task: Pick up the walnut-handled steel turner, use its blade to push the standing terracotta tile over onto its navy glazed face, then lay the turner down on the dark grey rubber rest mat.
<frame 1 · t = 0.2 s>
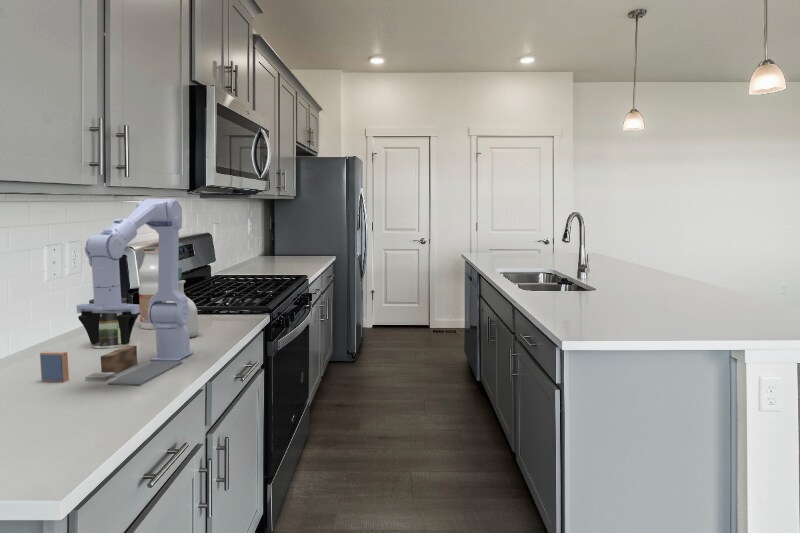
hand: (110, 343, 142), 10 cm above the worktop, tool pointing down, fingers open, 7 cm apart
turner: (120, 369, 156), on the worktop
rest mat: (147, 373, 153), on the worktop
coffee can: (110, 345, 186), on the worktop
tile: (55, 380, 147), on the worktop
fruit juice: (155, 327, 213), on the worktop
soap bottle: (180, 337, 196), on the worktop
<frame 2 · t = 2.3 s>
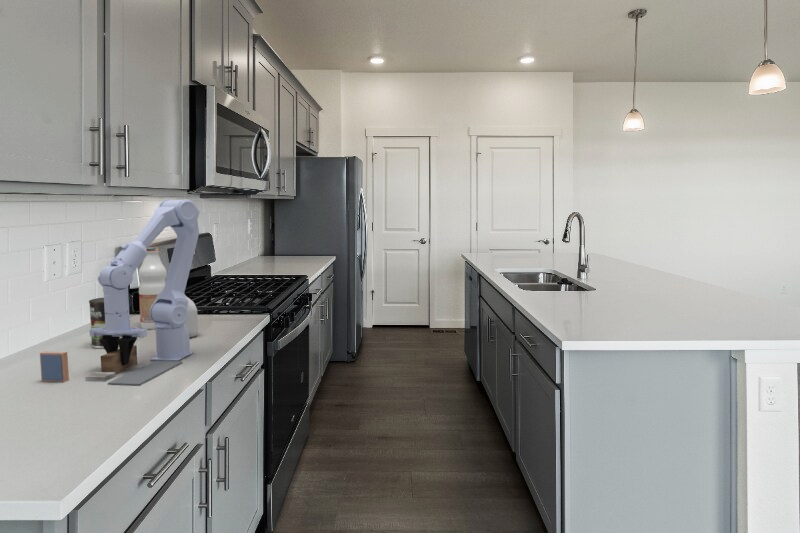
hand: (119, 364, 156), 1 cm above the worktop, tool pointing down, fingers closed on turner, 2 cm apart
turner: (120, 369, 156), on the worktop, touching gripper
everything else where it was.
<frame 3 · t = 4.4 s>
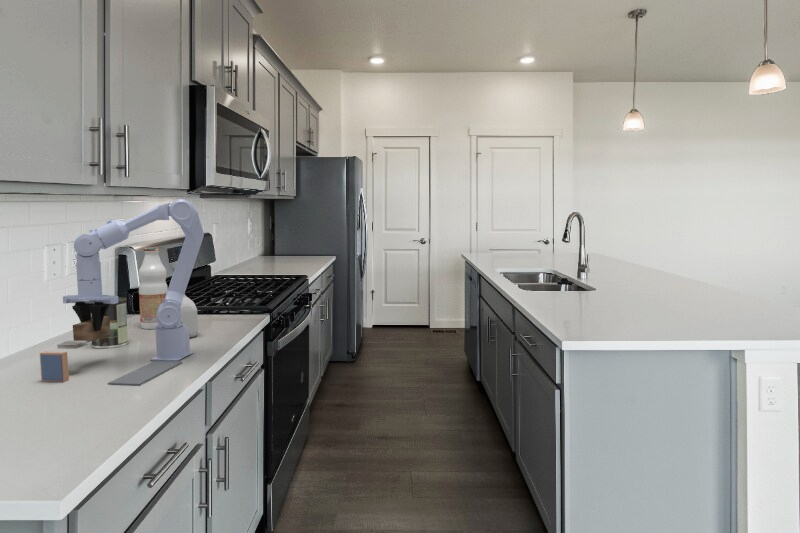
hand: (92, 330, 161), 9 cm above the worktop, tool pointing down, fingers closed on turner, 2 cm apart
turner: (92, 338, 161), point 7 cm above the worktop, touching gripper
everything else where it was.
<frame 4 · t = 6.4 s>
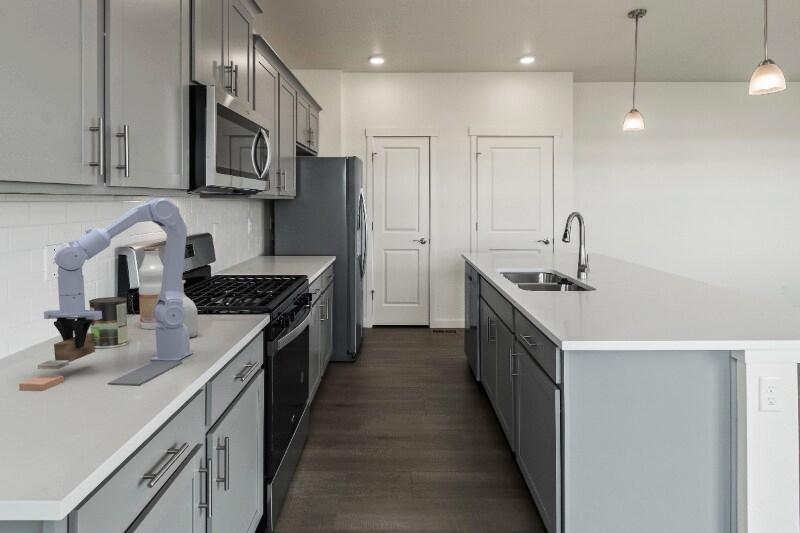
hand: (74, 347, 154), 6 cm above the worktop, tool pointing down, fingers closed on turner, 2 cm apart
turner: (76, 357, 154), point 4 cm above the worktop, touching gripper
tile: (52, 379, 146), point 1 cm above the worktop, tilted 90°
everything else where it was.
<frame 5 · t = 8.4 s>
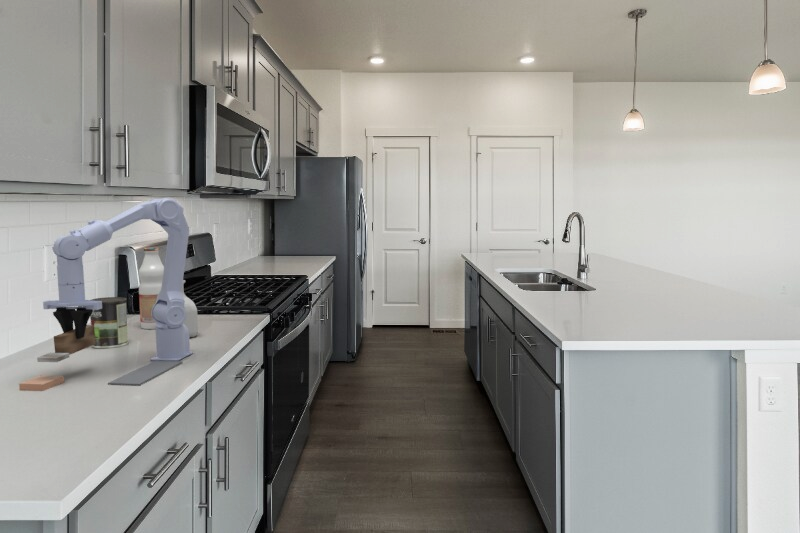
hand: (74, 337, 152), 9 cm above the worktop, tool pointing down, fingers closed on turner, 2 cm apart
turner: (76, 350, 152), point 6 cm above the worktop, touching gripper
everything else where it was.
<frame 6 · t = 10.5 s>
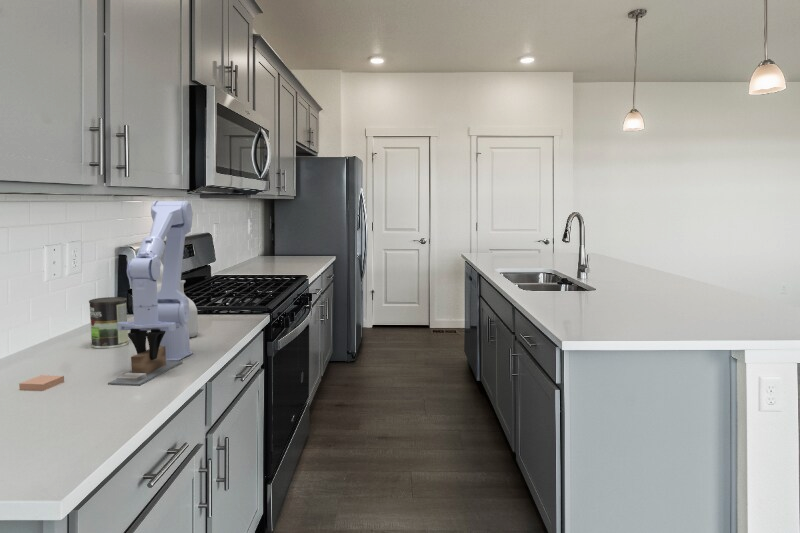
hand: (148, 358, 153), 4 cm above the worktop, tool pointing down, fingers closed on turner, 2 cm apart
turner: (149, 370, 154), resting on rest mat, touching gripper
everything else where it was.
when the fingers open (3 cm above the worktop, at t = 10.9 s): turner stays where it is, resting on rest mat.
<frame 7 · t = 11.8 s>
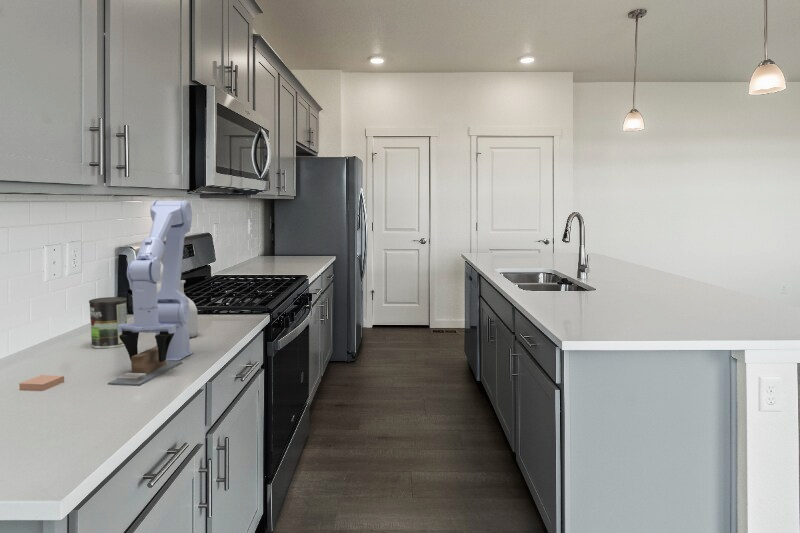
hand: (148, 360, 153), 3 cm above the worktop, tool pointing down, fingers open, 7 cm apart
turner: (149, 370, 154), resting on rest mat
everything else where it was.
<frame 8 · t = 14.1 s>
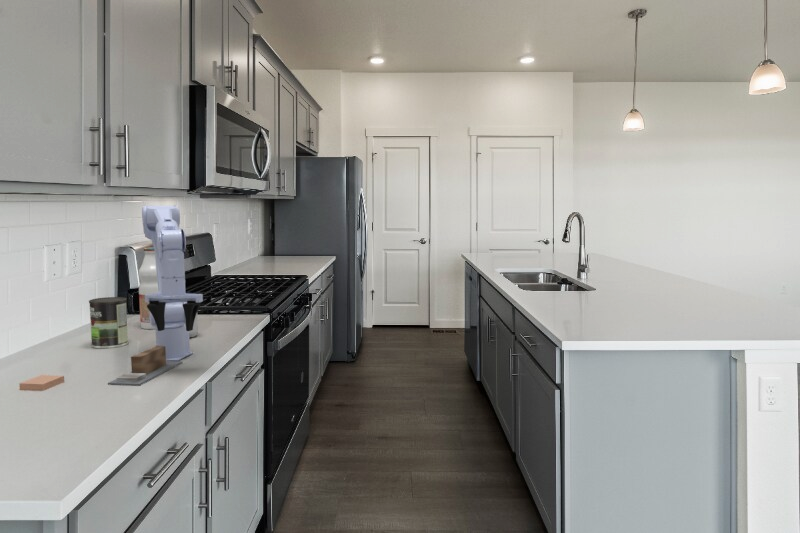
hand: (175, 330, 154), 10 cm above the worktop, tool pointing down, fingers open, 7 cm apart
nothing on the worktop moved.
at the end: tile tilted 90°; tile inside the target area (0.8 cm from its centre), point 0.7 cm above the worktop; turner inside the target area on the rest mat (0.9 cm from its centre), point 0.4 cm above the rest mat's base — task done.
